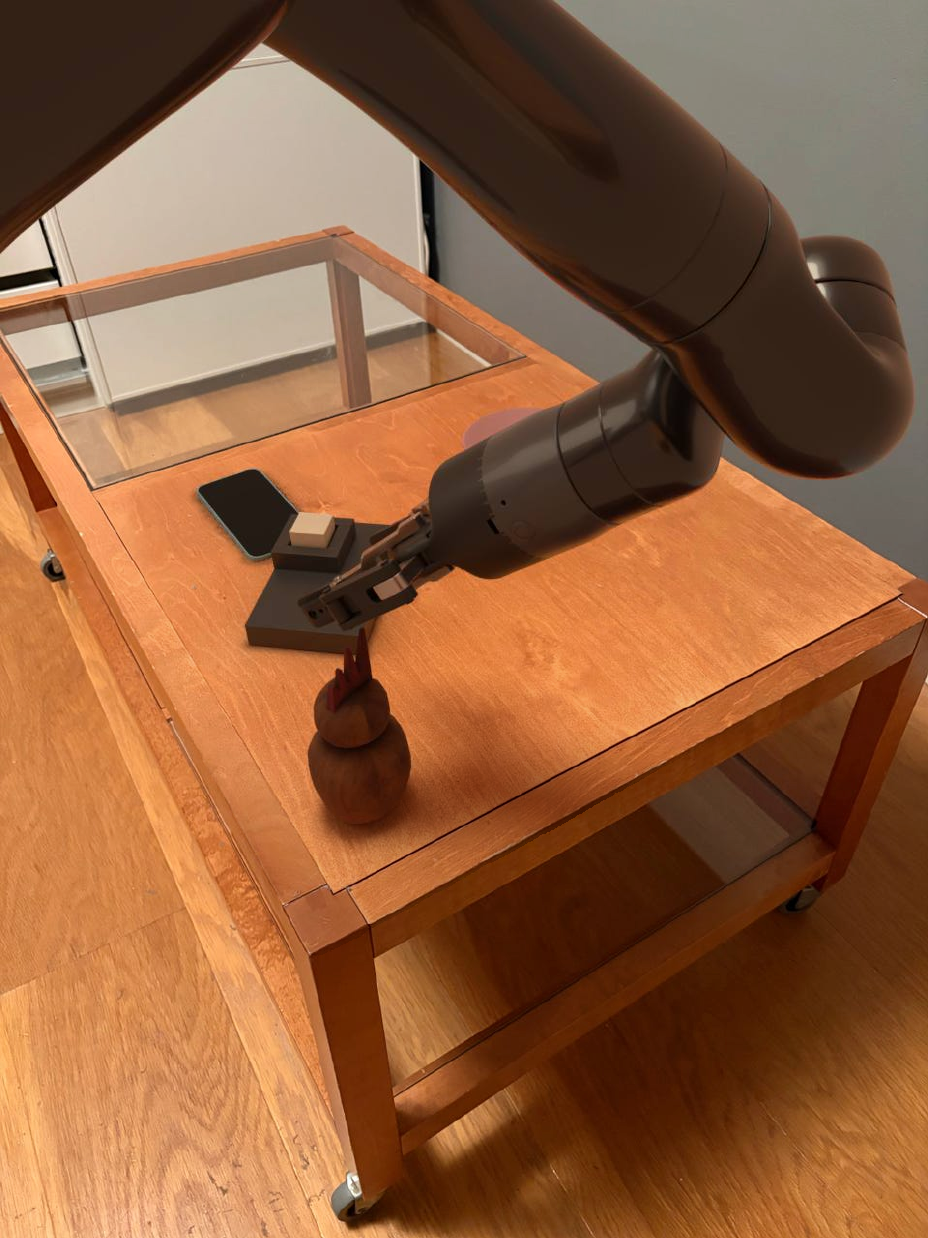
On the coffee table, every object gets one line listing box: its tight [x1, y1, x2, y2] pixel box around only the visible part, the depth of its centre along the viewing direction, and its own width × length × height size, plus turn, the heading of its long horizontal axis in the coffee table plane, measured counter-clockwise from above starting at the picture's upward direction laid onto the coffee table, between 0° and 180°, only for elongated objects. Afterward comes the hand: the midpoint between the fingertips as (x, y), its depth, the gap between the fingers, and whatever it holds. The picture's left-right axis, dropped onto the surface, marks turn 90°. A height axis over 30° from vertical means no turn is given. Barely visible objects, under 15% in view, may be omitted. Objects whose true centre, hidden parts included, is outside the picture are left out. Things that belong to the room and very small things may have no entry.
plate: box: [461, 406, 546, 451], centre depth 102 cm, size 14×14×2 cm
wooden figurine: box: [307, 627, 412, 826], centre depth 62 cm, size 7×6×15 cm
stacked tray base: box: [244, 514, 390, 656], centre depth 85 cm, size 10×16×4 cm, turn 170°
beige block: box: [289, 511, 335, 548], centre depth 85 cm, size 3×3×2 cm
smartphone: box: [196, 468, 300, 562], centre depth 96 cm, size 7×1×15 cm
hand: (344, 579), depth 63 cm, fingers open, 8 cm apart
